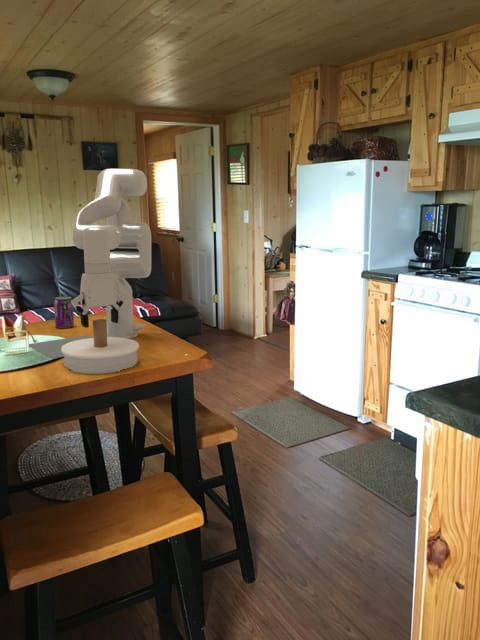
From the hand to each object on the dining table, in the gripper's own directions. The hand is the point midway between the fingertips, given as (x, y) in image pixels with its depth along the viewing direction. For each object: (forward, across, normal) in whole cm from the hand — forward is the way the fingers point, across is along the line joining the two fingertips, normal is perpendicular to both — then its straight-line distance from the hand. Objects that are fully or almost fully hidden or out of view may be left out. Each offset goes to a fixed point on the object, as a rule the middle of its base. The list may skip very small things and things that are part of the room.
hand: (100, 324), depth 167 cm
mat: (+12, 0, -23) cm, 26 cm away
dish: (+13, 0, +1) cm, 13 cm away
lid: (+7, 0, 0) cm, 8 cm away
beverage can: (+14, -12, -56) cm, 59 cm away
